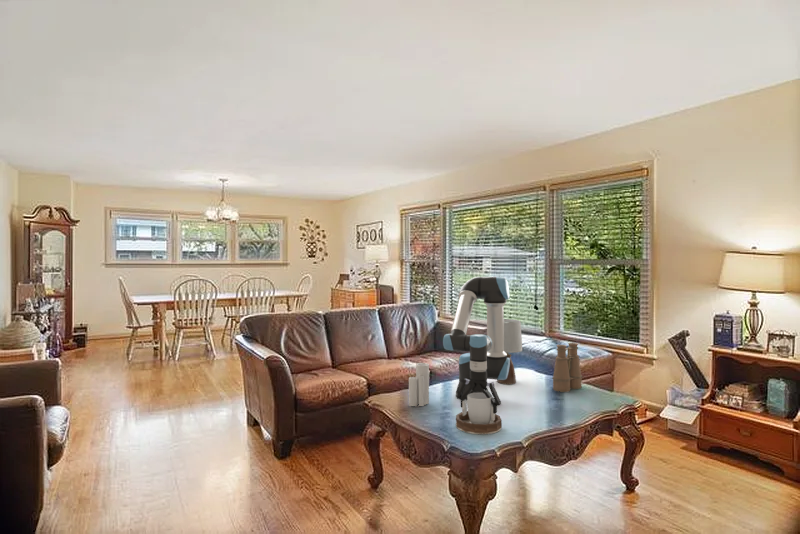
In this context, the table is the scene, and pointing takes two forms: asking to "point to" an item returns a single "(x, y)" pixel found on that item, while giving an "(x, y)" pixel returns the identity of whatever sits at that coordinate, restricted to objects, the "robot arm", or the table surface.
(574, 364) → the binoculars
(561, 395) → the table surface
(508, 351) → the lamp
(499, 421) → the holder
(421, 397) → the vase
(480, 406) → the mug
